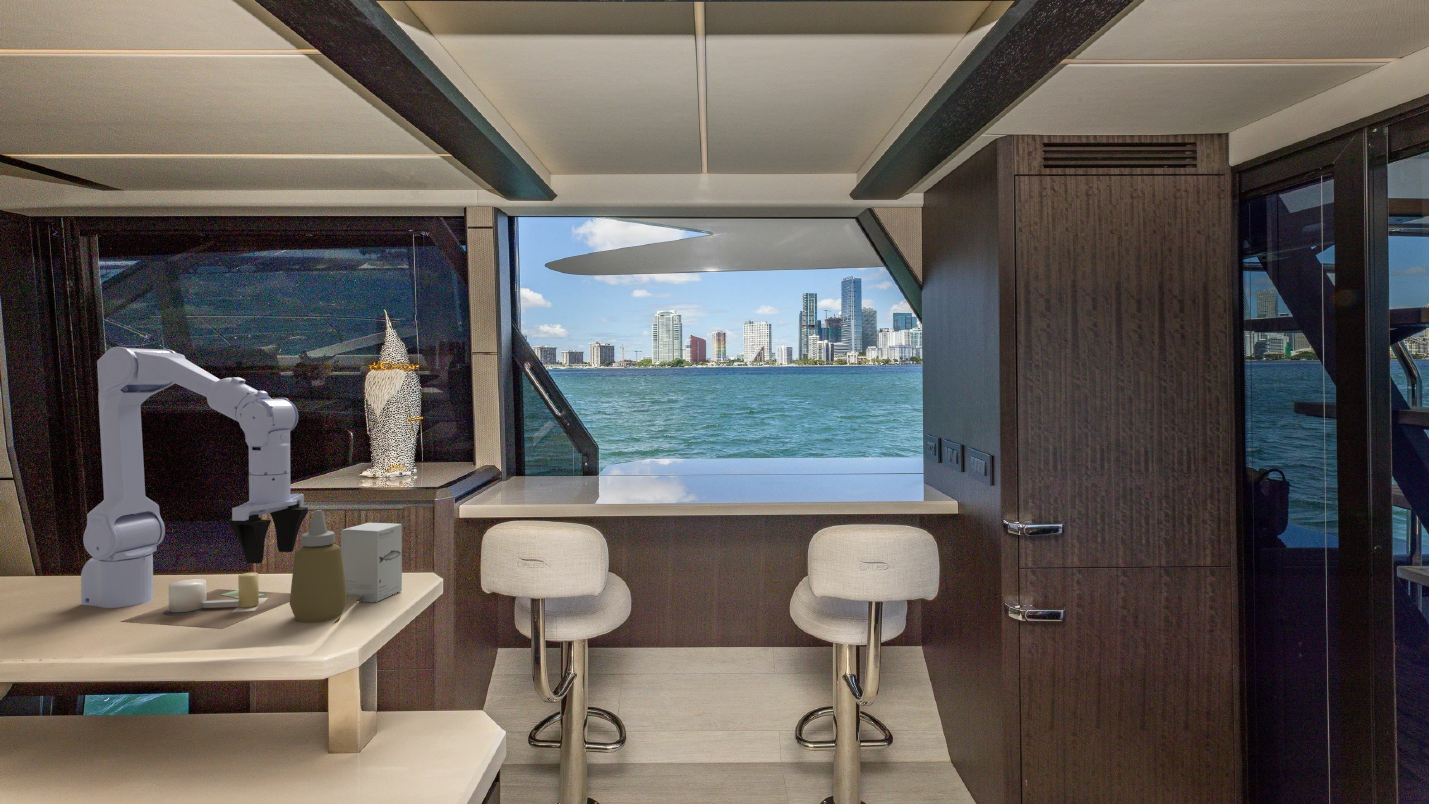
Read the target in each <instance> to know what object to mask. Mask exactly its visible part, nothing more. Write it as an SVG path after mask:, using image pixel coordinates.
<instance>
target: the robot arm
mask: <svg viewBox="0 0 1429 804" xmlns="http://www.w3.org/2000/svg"><path fill="white" fill-rule="evenodd" d="M96 364H97V365H96V366H97V385H98V386H97V387H98V393H97V394H98V398H97V399H98V411H99V412H98V417H99V429H100V431H99V432H100V449H101V452H100V453H101V466H102V469H101V470H102V484H103V485H102V487H103V500H102V501H101V502H100V503H98V504H97V505H96V506H95V507H94V508H92V510H90V511H89V512H88V513H87V514H86V519H87V520H86V528H85V530H84V533H83V536H82V537H83V538H82V540H83V541H82V542H83V545H84V549H85V550H86V552H87V553H88V555H90V556H91V558H90V559H89V560H87V561H86V563H85V564H84V565H83V566H82V570H81V574H80V587H81V589H80V590H81V591H80V592H81V596H80V597H81V600H80V601H81V602H80V603H81V605H82V606H92V607H93V606H94V607H99V608H102V609H103V608H104V609H113V608H126V607H131V606H138V605H141V604H145V603H148V602H149V601H152V600H153V599H154V563H153V561H154V557H153V553H155V552H157V550H158V549H157V548H158V547H157V546H159V545H160V544H162V543H161V542H162V541H164V538H165V534H166V528H165V527H166V526H165V522H164V521H163V519H162V517H161V514H160V513H161V512H160V506H159V505H160V504H158V503H157V502H155V501H153V500H152V499H150V498H149V497H147V496H146V486H145V484H146V483H145V467H144V449H143V447H144V446H143V431H142V430H143V429H142V413H141V412H142V411H141V410H142V409H141V405H142V404H144V402H145V401H147V399H148V398H150V397H151V396H153V395H155V394H157V393H159V392H161V391H163V390H165V389H167V388H169V387H171V386H173V385H174V384H176V385H178V386H179V387H183V388H185V389H187V390H189V391H191V392H194V393H196V394H199V395H201V396H203V397H205V398H206V402H207V404H208V406H209V407H210V408H211V409H213V410H214V411H216V412H218V413H219V414H223V415H224V416H226V417H228V418H230V419H232V420H233V421H236V422H238V423H239V427H240V429H242V431H243V433H244V435H245V436H244V437H245V443H246V444H247V446H248V491H249V492H248V499H249V500H248V501H247V502H245V503H243V504H240V505H238V506H236V507H235V506H234V507H232V508H231V513H232V515H231V518H229V519H228V526H229V528H230V529H231V530H232V531H233V532H234V534H235V536H236V537H237V539H238V541H239V543H240V546H241V548H242V551H243V555H244V558H245V562H246V564H262V563H263V560H264V555H265V541H266V538H267V537H266V536H267V533H268V529H269V527H270V525H271V523H272V522H273V524H274V529H275V535H276V547H277V550H278V552H279V553H292V552H294V548H295V547H296V546H295V545H296V541H297V538H298V533H299V531H300V529H301V527H302V524H303V521H304V519H305V518H306V517H307V515H308V513H309V511H308V510H309V508H308V507H306V506H304V505H305V494H304V493H291V431H293V430H294V429H295V428H296V426H297V424H298V421H299V411H298V409H297V407H296V405H295V404H294V403H293V402H292V401H290V399H289V398H287V397H277V398H271V396H269V393H268V392H267V391H265V390H257V389H255V388H253V387H251V386H250V385H248V384H246V379H244V378H242V377H238V376H237V377H234V376H233V377H225V378H222V379H221V378H218V377H216V376H215V375H213V374H211V373H210V372H209V371H206V370H205V369H203V368H201V366H198V365H196V364H195V363H193V362H191V361H190V360H188V359H187V358H186V355H184V354H181V353H179V352H178V353H177V352H176V351H174V350H172V349H169V348H161V349H157V348H156V349H154V348H138V347H137V348H131V347H125V346H113V347H111V348H109V349H108V350H106V352H105V353H104V354H103V355H102V356H101V357H100V358H99V359H98V360H96ZM267 514H270V517H271V519H262V517H259V516H264V515H267Z"/></svg>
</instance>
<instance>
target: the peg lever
mask: <svg viewBox="0 0 1429 804" xmlns="http://www.w3.org/2000/svg"><path fill="white" fill-rule="evenodd" d="M237 577H238V578H237V580H238V581H237V582H238V583H237V587H238V589H237V590H238V596H239V599H238V600H215V601H207V592H208V591H207V580H206V579H203V578H192V579H184V580H179V581H174V582H172V583H170V584H168V605H169V611H170V612H188V611H194V610H198V609H201V608H212V607H234V606H239V607H252V606H256V605H258V604H259V592H260V590H259V584H260V583H259V573H258V572H245V573H241V574H238V576H237Z"/></svg>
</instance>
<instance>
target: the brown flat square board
mask: <svg viewBox="0 0 1429 804" xmlns="http://www.w3.org/2000/svg"><path fill="white" fill-rule="evenodd" d="M206 592H207V601H215V600H238V599H239V596H238V589H224V588H222V589H220V588H218V589H217V588H216V589H214V590H211V591H206ZM290 594H291V592H290V593H287V592H275V591H273V592H272V591H271V592H270V591H259V604H258V605H256V606H252V607H239V606H234V607H212V608H201V609H198V610H194V611H188V612H170V611H169V604H168V605H165V606H162V607H159V608H156V609H154V610H151V611H147V612H145V613H141V614H139V615H136V616H132V617H129V618H126V619H123V620H120V621H119V622H120V623H131V624H133V623H134V624H135V623H136V624H149V625H150V624H151V625H161V626H175V627H177V626H178V627H190V628H202V629H203V628H205V629H207V628H208V629H218V630H220V629H221V630H222V629H225V628H228V627H230V626H233V625H235V624H238V623H239V622H243V621H246V620H248V619H250V618H253V617H255V616H259V615H260V614H263V613H266V612H268V611H270V610H272V609H275V608H278V607H280V606H282V605H285V604H288V603H290Z"/></svg>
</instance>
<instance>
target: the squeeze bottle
mask: <svg viewBox="0 0 1429 804" xmlns="http://www.w3.org/2000/svg"><path fill="white" fill-rule="evenodd" d="M324 515H325V514H324V513H323V510H322V509H317V510H316V509H315V510H313V514H312V517H311V522H310V527H309V530H308V532H305V533H302V534H301V537H300V538H301V546H300V548H298V549H297V550H296V551H294V558H293V568H292V576H291V577H292V578H291V586H290V593H291V594H290V602H289V605H290V608H291V611H292V614H293V616H294V618H295V619H294V620H296V622H299V623H309V624H311V623H321V622H326V621H327V622H328V621H330V620H333V619H336V618H337V620H336V621H334V623H333V625H334V624H336V623H338V622H339V621H340V619H341V615H342V614H343V611H344V608H345V606H346V605H345V604H346V602H347V600H348V594H347V591H346V583H345V574H344V566H343V558H342V549H341V546H340V545H338V544H336V543H335V542H336V533H335V532H334V531H333V530H328V528H327V524H326V519H325V516H324Z"/></svg>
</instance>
